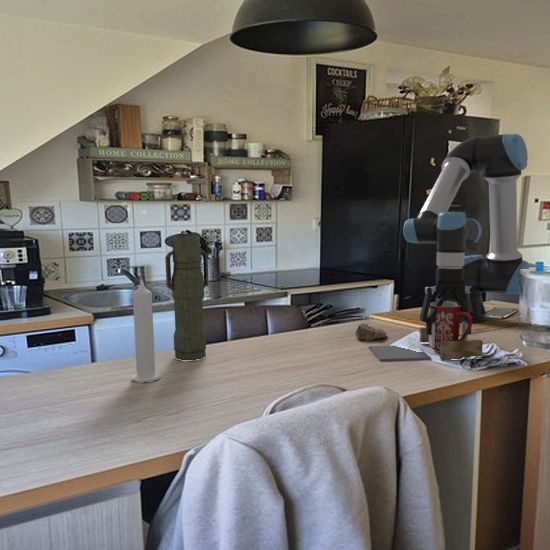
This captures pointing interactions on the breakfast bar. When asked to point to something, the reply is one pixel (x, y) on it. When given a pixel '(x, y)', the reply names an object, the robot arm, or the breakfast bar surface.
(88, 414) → the breakfast bar surface
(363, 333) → the rock
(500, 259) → the robot arm
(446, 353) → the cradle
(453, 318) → the mug
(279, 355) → the breakfast bar surface
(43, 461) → the breakfast bar surface
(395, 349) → the coaster
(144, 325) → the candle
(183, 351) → the thermos
